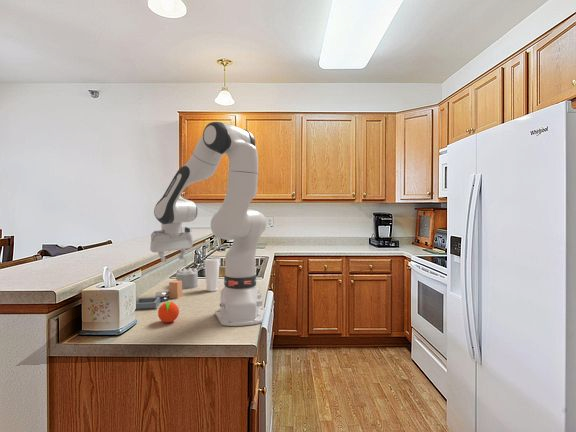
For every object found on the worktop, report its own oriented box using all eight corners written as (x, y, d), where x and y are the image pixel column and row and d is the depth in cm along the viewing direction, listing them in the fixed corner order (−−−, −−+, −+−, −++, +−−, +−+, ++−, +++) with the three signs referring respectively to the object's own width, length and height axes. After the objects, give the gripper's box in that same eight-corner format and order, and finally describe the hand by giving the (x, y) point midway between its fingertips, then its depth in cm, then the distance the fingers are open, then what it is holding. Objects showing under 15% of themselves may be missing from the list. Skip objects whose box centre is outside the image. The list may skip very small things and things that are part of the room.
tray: (155, 309, 136) (155, 302, 136) (131, 310, 134) (131, 303, 134) (160, 302, 145) (160, 297, 144) (137, 304, 143) (137, 298, 143)
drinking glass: (213, 288, 171) (213, 257, 171) (222, 290, 167) (222, 259, 166) (202, 290, 166) (201, 259, 166) (211, 292, 162) (210, 260, 161)
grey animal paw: (176, 289, 169) (175, 271, 169) (176, 283, 181) (176, 267, 181) (198, 288, 172) (197, 270, 172) (197, 282, 184) (197, 266, 184)
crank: (162, 298, 146) (162, 287, 146) (153, 297, 147) (153, 287, 147) (179, 291, 158) (179, 281, 158) (171, 290, 160) (171, 281, 159)
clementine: (178, 325, 117) (178, 304, 117) (156, 327, 115) (156, 306, 115) (179, 318, 125) (179, 298, 124) (159, 319, 123) (158, 299, 123)
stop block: (177, 298, 152) (177, 282, 151) (169, 298, 152) (169, 282, 152) (182, 296, 155) (182, 280, 155) (174, 295, 156) (174, 280, 156)
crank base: (167, 301, 146) (167, 298, 146) (152, 302, 145) (152, 299, 145) (169, 298, 152) (169, 295, 152) (155, 298, 151) (155, 296, 151)
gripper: (155, 231, 145) (156, 264, 145) (194, 228, 161) (195, 258, 162) (146, 230, 148) (147, 263, 148) (185, 228, 165) (186, 257, 165)
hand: (172, 260), depth 155 cm, fingers open, 8 cm apart
